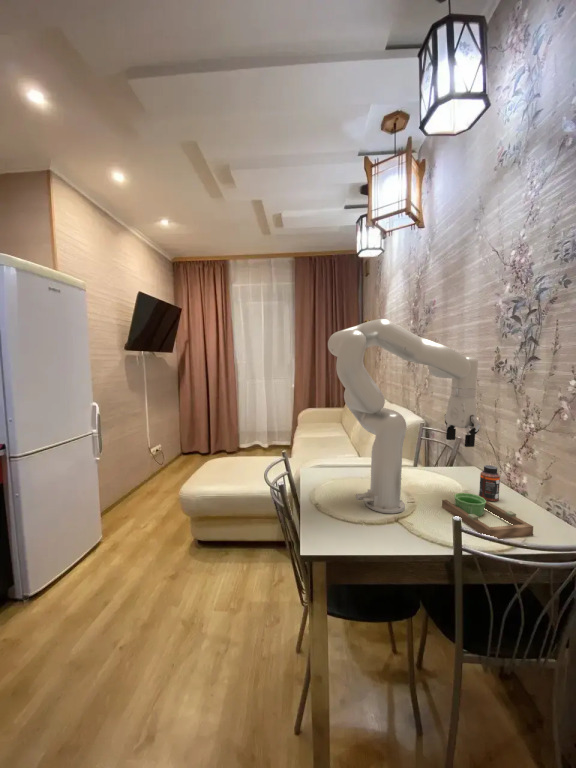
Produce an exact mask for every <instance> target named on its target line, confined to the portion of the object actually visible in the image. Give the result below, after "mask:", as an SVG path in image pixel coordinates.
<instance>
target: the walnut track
mask: <svg viewBox="0 0 576 768" xmlns="http://www.w3.org/2000/svg"><path fill="white" fill-rule="evenodd" d="M441 508H442V509H444V510H445V511H447V512H448V513H449V514H451V515H452V516H454V517H455V516H459V517H461V518H462V521H461V522H463V523H464V524H466V525H467V526H468V527H470V528H471V529H473V530H475V531H476V532H477V533H478V534H480V533H483V534H486V535H490V536H494V537H497V539H505V538H517V537H518V538H519V537H527V536H528V537H529V536H533V535H534V526H533V525H532V524H530V523H527V521H524V520H523V519H521V518H519V517H517V513H515V512H513V511H512V510H507V511H505V510H504V509H502V508H501V507H499V506H496V505H495V504H493V503H491V502H490V501H487V500H486V504H485V509H487V510H488V511H490V512H492V513H493V514H495V515H497V516H499V517H500V518H503V519H504V520H506V521H508V522H509V523H511V524H513V525H501V526H489V525H487V524H485V523H484V522H483V521H482V520H479V519H480V518H479V517H480V516H476V515H475V514H468V513H467V512H465V511H464V510H462V509H460V508H459V507H457V506H456V505H455V503H453V502H451V501H449V500H448V499H441Z"/></svg>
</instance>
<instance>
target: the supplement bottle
mask: <svg viewBox="0 0 576 768" xmlns="http://www.w3.org/2000/svg"><path fill="white" fill-rule="evenodd" d="M500 482H501V475H500V474H499V473H498V467H497V466H495V465H491V464H490V465H488V464H487V465H483V471H481V472H480V474H479V491H478V496H480V497H482V498H484V499H485V500H486V501H488V502H497V501H499V499H500V498H499V497H500V484H501V483H500Z"/></svg>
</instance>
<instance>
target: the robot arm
mask: <svg viewBox="0 0 576 768" xmlns="http://www.w3.org/2000/svg"><path fill="white" fill-rule="evenodd" d="M371 347H379V348H381V349H384V350H385V351H387V352H389V353H391V354H393V355H395V356H397V357H399V358H401V359H402V360H404V361H407V362H410V363H414V364H421V365H425V366H427V370H428V372H429V373H430V374H431V375H432V376H433V377H436V378H439V379H451V389H450V396H449V398H448V402H447V406H446V413H445V414H443V418H444V424H445V428H446V433H445V435H446V437H445V439H446V440H448V441H455V439H456V433H457V432H456V431H457V429H456V428H459V429H464V430H465V432H466V434H465V436H464V437H465V438H464V447H465V448H474V447H475V443H476V436H477V434H478V432H479V431H480V428H481V426H482V423H481V422H480V421H479V420H478V419H477V415H478V414H477V399H476V396H477V395H476V393H477V384H478V383H477V382H478V381H477V380H478V370H479V367H478V366H479V362H478V361H479V360H478V358H477V357H474V356H465V354H463V353H460V352H459V351H456V350H455V349H453V348H452V347H449V346H446V345H445V344H441V343H438V342H436V341H433V340H430V339H427V338H425V337H420V336H419V335H417V334H415V333H413V332H411V331H410V330H408V329H406V328H405V327H403V326H401V325H400V324H397V323H395V322H393V321H392V320H389V319H386V318H379V319H372V320H369V321H366V322H363V323H360V324H357V325H354V326H351V327H347V328H344V329H341V330H339V331H336V332H334V333H333V334H331V336H330V337H329V339H328V340H327V349H328V351H329V352H330V354H332V355H333V356H334V357H336V364H335V366H336V374H337V377H338V379H339V381H340V383H341V384H342V386H343V387H344V392H343V398H344V399H343V400H344V403H345V405H346V407H347V408H348V409H349V411H350V412H351V413H352V415H353V417H355V419H356V420H357V421H358V423H359V424H360V425H361V426H362V428H363V429H364V430H365V431H367V432H368V433H371V434H373V435H375V437H374V441H373V444H372V446H371V447H372V448H371V461H370V462H371V467H370V468H371V469H370V486H369V487H370V488H369V489H367V491H366V492H365V493H356V494H355V500H356V501H362V502H363V503H364V504H365V506H366V507H367V508H369V509H370V510H372V511H373V512H374V511H375V512H377V513H383V514H398V513H402V512H404V511H405V509H406V504H405V501H403V500H401V492H402V490H401V489H402V487H401V486H402V468H403V451H404V450H403V447H404V441H405V438H406V435H407V434H406V433H407V421H406V419H405V417H404V416H403V415H402V414H401V413H399V412H398V411H396V410H394V409H390V408H385V404H386V400H385V396H384V393H383V391H382V390H381V388H379V386H378V385H377V383H376V382H375V380H374V379H373V378H372V377H371V375H370V374H369V372H368V370H367V369H366V367H365V363H364V358H365V353H366V349H369V348H371Z"/></svg>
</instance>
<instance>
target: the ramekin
mask: <svg viewBox="0 0 576 768" xmlns="http://www.w3.org/2000/svg"><path fill="white" fill-rule="evenodd" d="M453 498H454V505H456V506H457V507H459V508H460V509H462V510H464V511H465V512H467V513H468V514H475V515H476V516H478V517H481V515H482V516H483V515H484V514H483V513H484V512H485V510H484V508H485V504H486V501H487V500H485V499H484V498H482V497H480V496H479V495H477V494H473V493H468V492H458V493H455V494H454V497H453Z"/></svg>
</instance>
